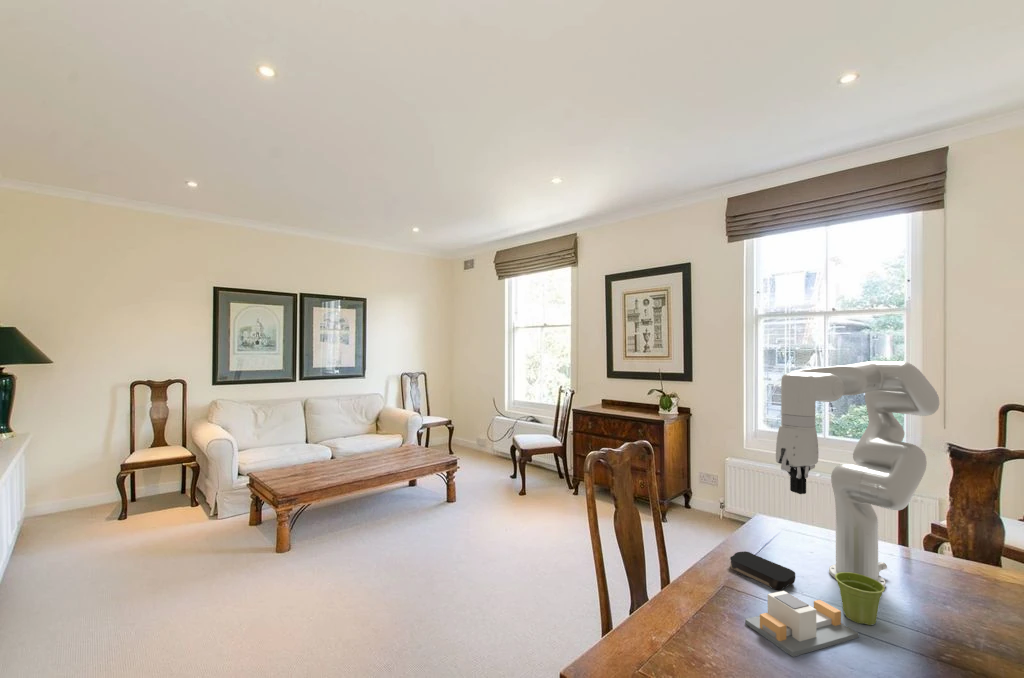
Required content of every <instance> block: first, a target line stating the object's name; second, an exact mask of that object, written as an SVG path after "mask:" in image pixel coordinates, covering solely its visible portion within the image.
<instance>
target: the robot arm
mask: <svg viewBox="0 0 1024 678" xmlns="http://www.w3.org/2000/svg"><path fill="white" fill-rule="evenodd" d="M780 390H781V392H780V393H781V397H780V399H781V400H780V402H781V403H780V404H781V407H780V408H781V410H780V412H781V413H780V417H781V418H780V419H781V423H780V425H779V427H778V430H777V435H776V436H777V437H776V445H775V446H776V447H775V461H776V463H778V464H780V465H781V466H780V470H781V471H784V472H787V473H788V476H789V480H790V482H789V483H790V485H789V486H790V487H789V490H790V491H791V492H792V493H796V494H797V495H798V494H799V495H806V494H807V479H808V477H809V473H810V471H811V470H813V469H815V467H816V465H817V464H818V462H819V443H818V442H819V440H818V432H817V427H816V402H821V403H831V402H835V401H838V400H840V399H841V398H842V396H856V395H862V394H864V402H865V408H866V412H867V415H868V416H867V417H868V425H867V427H866V429H865V430H864V431H863V433H862V436H861V437H860V439H859V440H858V442H857V444H856V445H855V447H854V450H853V453H852V458H853V461H854V462H855V463H856V464H854V463H842V464H838V465H837V466H835V467H834V468H833V470H832V471H831V474H830V475H831V477H830V479H831V480H830V481H831V487H832V490H833V491H832V492H833V496H834V503H835V564H832V565H830V566H829V567H828V571H829V574H830V576H831V577H833V578H834V579H835V575H836V574H837V573H840V572H851V573H857V574H861V575H864V576H867V577H870V578H872V579H874V580H877V581H878V582H880V583H881V584H882V585H883V586H884V587H885V588H886V586H887V585H886V583H887V582H886V579H885V578H883V577H882V576H881V575H880V572H882V571H884V570H887V569H888V565H887V564H886V563H885V562H884V561H880V562H879V519H878V516H877V513H876V510H875V509H874V507H873V506H875V507H879V508H882V509H887V510H889V511H890V510H891V511H901V510H904V509H906V507H908V505H909V503H910V502H911V500H912V498H913V496H914V494H915V493H916V491H917V489H918V487H919V485H920V483H921V481H922V479H923V477H924V475H925V472H926V469H927V456H926V453H925V452H924V451H923V449H922V448H921V447H920V446H918V445H916V444H913V443H909V442H904V441H903V440H904V437H905V430H904V428H903V426H902V425H901V423H900V422H899V421H898V420H897V418H895V416H894V414H904V415H912V416H920V417H921V416H922V417H927V416H932V415H934V414H935V413H936V412H937V411H938V410H939V407H940V397H939V394H938V392H937V391H936V390H937V389H935V388H934V386H933V385H932V383H931V382H930V381H929V380H928V379H927V378H926V376H925V375H924V374H923V373H922V371H921V370H920V369H919V368H917V366H915V365H914V364H912V363H910V362H906V361H891V360H890V361H889V360H887V361H885V360H870V361H863V362H858V363H857V362H856V363H852V364H844V365H834V366H825V367H813V368H803V369H798V370H793V371H789V372H788V373H784V374H783V375H782V376H781V385H780ZM893 413H894V414H893Z"/></svg>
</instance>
